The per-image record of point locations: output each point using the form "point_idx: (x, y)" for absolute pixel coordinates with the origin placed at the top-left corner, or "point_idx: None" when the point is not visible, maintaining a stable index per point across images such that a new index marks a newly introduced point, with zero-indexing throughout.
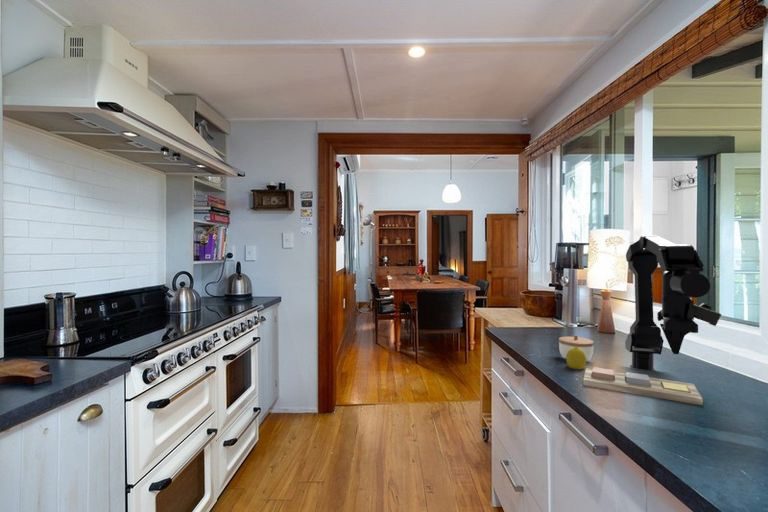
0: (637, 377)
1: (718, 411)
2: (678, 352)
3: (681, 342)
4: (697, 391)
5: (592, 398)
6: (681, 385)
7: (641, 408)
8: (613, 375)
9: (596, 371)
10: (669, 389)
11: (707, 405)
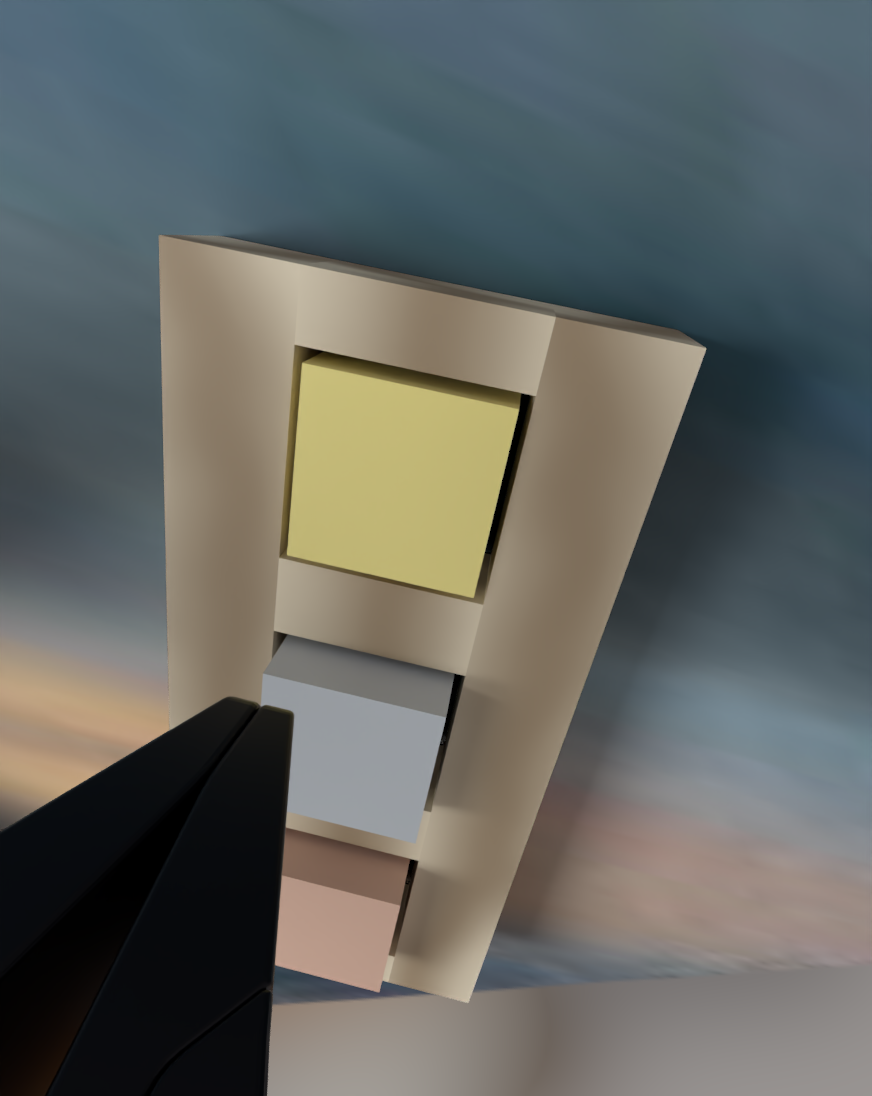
0: (392, 777)
1: (631, 165)
2: (287, 738)
3: (269, 1010)
4: (448, 301)
5: (608, 923)
6: (331, 412)
7: (719, 741)
8: (399, 900)
9: (359, 971)
10: (481, 555)
11: (483, 209)
